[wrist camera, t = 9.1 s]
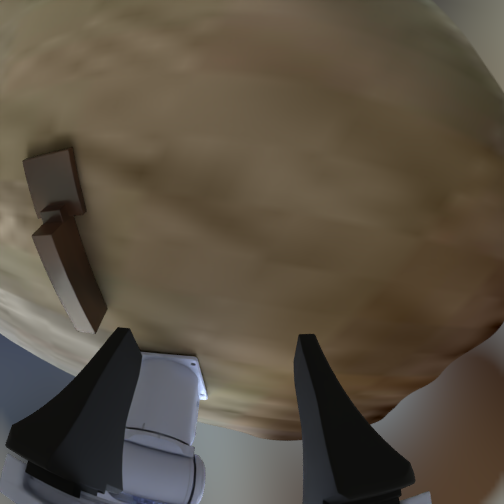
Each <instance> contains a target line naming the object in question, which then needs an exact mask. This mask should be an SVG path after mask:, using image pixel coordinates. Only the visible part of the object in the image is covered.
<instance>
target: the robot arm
mask: <svg viewBox="0 0 504 504" xmlns="http://www.w3.org/2000/svg"><path fill="white" fill-rule="evenodd" d="M294 381H295V389H296V395H297V402H298V408H299V414H300V421H301V427H302V438H303V504H432V502H431V496H430V492H429V491H427V492H425V493H422V494H419V495H417V496H414V497H411V498H408V499H405V500H401V501H399V497H400V496H401V489H402V488H405V487H407V486H410V485H412V484H414V483H415V476H414V472H413V469H412V467H411V464H410V462H409V461H407V460H406V459H405V458H404V457H403V456H401V455H400V454H399V453H398V452H397V451H395V450H394V449H393V448H392V447H391V446H390V445H389V444H388V443H387V442H386V441H385V440H384V439H383V438H382V437H381V436H380V435H379V434H378V433H377V432H376V431H375V430H374V429H373V428H372V427H371V425H370V424H369V423H368V422H367V421H366V420H365V418H364V417H363V416H362V415H361V413H360V412H359V411H358V410H357V408H356V407H355V406H354V404H353V403H352V401H351V400H350V398H349V397H348V396H347V394H346V392H345V391H344V389H343V388H342V386H341V385H340V383H339V381H338V380H337V378H336V376H335V374H334V373H333V371H332V369H331V367H330V366H329V364H328V362H327V360H326V358H325V356H324V354H323V352H322V350H321V347H320V345H319V343H318V340H317V338H316V336H315V335H314V334H299V336H298V342H297V347H296V352H295V357H294ZM200 399H202V400H206V399H208V395H207V391H206V388H205V384H204V381H203V377H202V374H201V370H200V366H199V362H198V359H197V358H196V357H194V356H182V355H170V354H159V353H149V352H140V350H139V347H138V345H137V343H136V341H135V339H134V337H133V334H132V332H131V330H130V328H120V327H118V328H117V329H116V330H115V331H114V332H113V334H112V335H111V336H110V337H109V339H108V340H107V341H106V342H105V343H104V345H103V346H102V347H101V348H100V350H99V351H98V352H97V353H96V354H95V356H94V357H93V358H92V359H91V360H90V362H89V363H88V364H87V365H86V366H85V367H84V368H83V370H82V371H81V372H80V373H79V374H78V375H77V376H76V377H75V378H74V380H73V381H71V382H70V383H69V384H68V385H67V386H66V387H65V388H64V389H63V390H62V391H61V392H60V393H59V394H58V395H57V396H55V397H54V398H53V399H52V400H50V401H49V402H48V403H47V404H46V405H44V406H43V407H41V408H40V409H39V410H37V411H36V412H34V413H33V414H31V415H29V416H28V417H26V418H24V419H23V420H21V421H19V422H17V423H15V424H13V425H12V427H11V430H10V433H9V436H8V439H7V442H6V447H7V448H9V449H10V450H12V451H13V452H15V453H17V454H18V455H20V456H21V457H23V458H25V459H27V460H28V463H27V464H26V463H24V462H22V461H21V460H19V459H17V458H16V457H14V456H12V455H11V454H9V453H8V454H7V456H6V459H5V463H4V466H3V471H2V474H1V478H0V492H1V493H3V494H4V495H5V496H7V497H8V498H9V499H11V500H12V501H13V502H15V503H16V504H199V502H200V501H201V498H202V496H203V492H204V487H205V476H206V475H205V465H204V463H203V461H202V460H201V458H200V456H198V455H196V454H194V449H195V447H193V446H191V445H192V443H193V441H194V439H195V434H196V425H197V417H198V409H199V401H200Z"/></svg>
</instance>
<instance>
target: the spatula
mask: <svg viewBox="0 0 504 504" xmlns="http://www.w3.org/2000/svg"><path fill="white" fill-rule="evenodd" d="M22 162H23V166H24V171H25V175H26V179H27V183H28V186H29V190H30V194H31V197H32V201H33V204H34V207H35V211H36V214H37V217H38V219H39V218H42V221H43V225H42V226H41V227H40V228H39V229H38V230H37V231H36V232H35V233H34V234H33V235H32V238H33V241H34V243H35V246H36V248H37V251H38V253H39V256H40V258H41V261H42V263H43V265H44V268H45V270H46V272H47V274H48V276H49V279H50V281H51V283H52V285H53V287H54V289H55V291H56V293H57V295H58V297H59V299H60V301H61V303H62V305H63V307H64V309H65V311H66V312H67V314H68V316H69V318H70V320H71V322H72V323H73V325H74V327H75V329H76V330H77V331H80V332H87V333H93V334H96V332H97V330H98V328H99V326H100V323H101V321H102V319H103V317H104V315H105V313H106V311H107V307H106V304H105V302H104V300H103V297H102V295H101V292H100V290H99V288H98V285H97V283H96V280H95V278H94V275H93V272H92V270H91V267H90V264H89V262H88V259H87V256H86V253H85V250H84V247H83V245H82V242H81V238H80V235H79V232H78V229H77V226H76V223H75V219H74V216H76V215H84V214H85V213H86V207H85V203H84V199H83V195H82V191H81V187H80V182H79V178H78V173H77V168H76V163H75V158H74V153H73V148H72V147H71V148H66V149H62V150H57V151H53V152H49V153H45V154H41V155H37V156H33V157H30V158H26V159H25V160H23V161H22Z"/></svg>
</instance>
